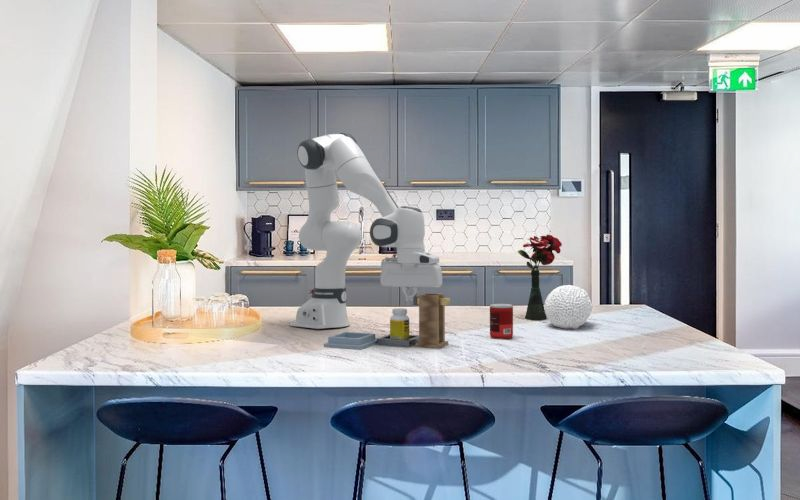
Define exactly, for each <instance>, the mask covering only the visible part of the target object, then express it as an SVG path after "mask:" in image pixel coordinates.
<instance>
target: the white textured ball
mask: <svg viewBox="0 0 800 500" xmlns="http://www.w3.org/2000/svg"><path fill="white" fill-rule="evenodd" d="M592 309H593V304H592V300H591V298H590V297H589V293H588V292H587V291H586V290H585V289H583V288H582V287H579V286H577V285H571V284H567V285H566V284H564V285H560V286H558V287H556V288H554V289H553V290H552V291H550V293H549V294H548V295H547V297H546V299H545V300H544V310H545V314H546V317H547V320H548V321H549V323H551V324H552V325H553V326H555V327H557V328H560V329H564V330H567V329H573V330H577V329H578V328H579V327H581V326H583V325H584V323H586V322H587V320H588V319H589V318H590V316H591V313H592V311H593V310H592Z"/></svg>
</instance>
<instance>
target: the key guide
mask: <svg viewBox="0 0 800 500" xmlns="http://www.w3.org/2000/svg"><path fill="white" fill-rule="evenodd" d="M418 296H419V305H418V335H419V342H418V343H416V344H415V345H414V346H415V347H416V348H427V349H442V348H444V347H446V346H448V345H449V340H446V339H445V338H446V337H445V336H446V334H445V333H446V331H445V330H446V326H445V324H446V317H445V316H446V314H445V312H446V311H445V310H446V309H445V308H446V305H439V298H446V297H445V293H429V292H428V293H427V292H426V293H425V294H419V295H418Z"/></svg>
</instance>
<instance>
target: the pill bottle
mask: <svg viewBox="0 0 800 500" xmlns="http://www.w3.org/2000/svg"><path fill="white" fill-rule="evenodd" d="M407 314H408V309H407V308H401V307H399V308H393V309H392V315H391V316H390V319H389V326H390V327H389V334H390V339H397V340H409V335H410V317H409V316H408V315H407Z"/></svg>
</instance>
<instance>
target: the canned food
mask: <svg viewBox="0 0 800 500" xmlns="http://www.w3.org/2000/svg"><path fill="white" fill-rule="evenodd" d="M513 335H514V306H513V304H509V303H494V304H492V303H491V304H490V305H489V337H490V338H491V339H496V340H508V339H512V338H513Z"/></svg>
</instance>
